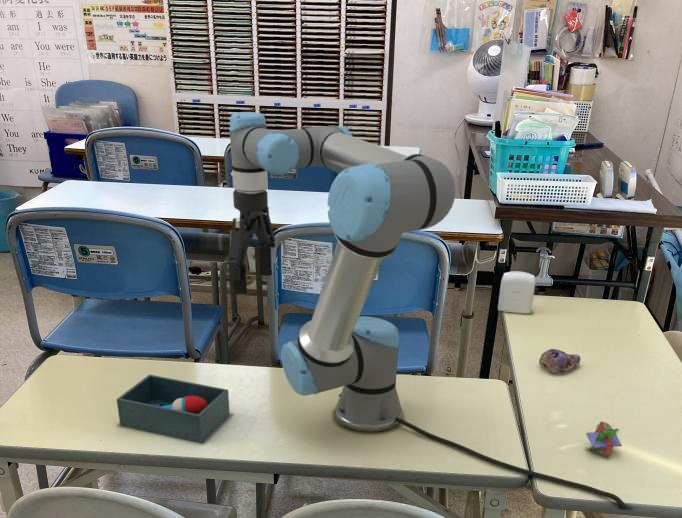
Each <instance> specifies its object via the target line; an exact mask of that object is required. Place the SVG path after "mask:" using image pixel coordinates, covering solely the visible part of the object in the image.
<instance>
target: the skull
mask: <svg viewBox="0 0 682 518" xmlns="http://www.w3.org/2000/svg"><path fill="white" fill-rule="evenodd" d="M580 362H581V355H579V354H576V353H574V354H569V353H566V351H563V350H560V349H555V348H550V349H548V350H546V351H544V352H542V353H541V355H540V358H539V360H538V364H539V365H540V366H542V367H544V368H545V369H547V370H548V371H550V372H551V373H552V374H555V375H557V374H558V375H559V374H563V373H565V372H567V371H569V372H571V371H572V370H574V369H576V368H577V366H578V367H579V366H580V365H581V363H580Z"/></svg>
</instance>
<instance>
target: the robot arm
mask: <svg viewBox="0 0 682 518" xmlns="http://www.w3.org/2000/svg"><path fill="white" fill-rule="evenodd" d="M267 126H268V125H267V122H266V118H265V115H264V114H263V113H260V112H256V111H255V112H254V111H241V112H235V113H233V114H231V115H230V118H229V140H230V157H231V170H232V171H231V173H230V175H231V177H232V188H233V189H234V190H233V192H232V196H233V197H232V200H233V208H234V209H235V210H238V211H239V218H236V217H234V218H232V231H231V237H230V243H229V249H228V251H229V252H228V256H227V265H230V266H233V267H232V268H233V283H234V285H233V286H234V287H233V288H234V293H236V294H243V295H246V294H248V288H247V287H248V286H247V265H246V264H245V260H246V257H247V253H248V249H249V246H250V242H251V239H253V238H254V235H255V236H256V238H257V240H258V242H259V245H260V246H259V247H258V256H259V275H261V276H267V277H271V276H272V249H273V248H276V243H275V242H276V236H275V233H274V229H273V224H272V221H271V217H270V210H269V200H268V197H269V196H268V191H267V189H268V173H271V174H277V175H287V174H288V173H290V172H291V171H292V170H294V169H302V168H303V169H304V168H311V167H324V168H326V169H328V170H331V171H334V172H336V173H338V175H336V177H335V178H334V179H333V182H332V184H331V186H330V189H329V191H328V197H327V206H328V207H329V209H328V211H327V218H328V221H329V225H330V227H331V229H332V231H333V234H334V237H335V238H336V240H337V243H336V246H335V248H334V252H333V254H332V257H331V261H330V264H329V266H328V270H327V272H326V276H325V279H324V282H323V285H322V288H321V291H320V293H319V296H318V299H317V303H316V306H315V308H314V311H313V314H312V317H311V320H309V321H307V322H306V323H304V324H303V325H302V327H301V328H300V330H299V333H298V335H297V338H296V340H294V341H290V340H289V341H288V342H285V343H284V344H283V346H282V347H281V352H280V359H281V366H282V370H283V372H284V375H285V378H286V381H287V382H288V383H289V385H290V387H291V388H292V390H293V391H294V392H295V393H296V394H298V395H299V396H302V397H305V396H311V395H318V394H321V393H324V392H327V391H331V390H334V389H339V388H342V387H343V388H342V390H341V392H340V393H339V394H338V400H337V403H336V405H335V418H336V420H337V422H338V423H339V424H341V425H342V426H344V427H345V428H347V429H349V430H352V431H357V432H363V433H379V432H384V431H388V430H391V429H393V428H395V427H397V426H398V425H399V424H400V425H403V426H405V427H407V428H408V429H411V430H413V431H415V432H416V433H418V434H421V435H422V436H425V437H427V438H429V439H431V440H434V441H436V442H438V443H441V444H443V445H447V446H449V447H452V448H455V449H457V450H460V451H462V452H464V453H467V454H469V455H471V456H473V457H475V458H477V459H480V460H482V461H485V462H488V463H489V464H493V465H496V466H499V467H501V468H504V469H507V470H511V471H512V472H516V473H519V474H523V475H526V476H530V477H532V478H533V477H534V478H537V479H541V480H545V481H548V482H551V483H556V484H560V485H564V486H568V487H571V488H575V489H579V490H583V491H586V492H588V493H593V494H595V495H598V496H602V497H604V498H608V499H611V500H613V501H614V502H616V504H618V506H619V507H620V509H622V510H625V511H626V510H628V508H627V505H626V504H625V502H624V501H623V500H622V499H621V498H620V497H619V496H617V495H616V494H614V493H611V492H608V491H604V490H601V489H598V488H596V487H592V486H589V485H586V484H582V483H579V482H575V481H571V480H567V479H562V478H559V477H555V476H552V475H548V474H543V473H540V472H536V471H532V470H529V469H526V468H523V467H519V466H516V465H513V464H509V463H507V462H503V461H500V460H497V459H495V458H492V457H489V456H487V455H485V454H482V453H480V452H478V451H475V450H473V449H471V448H468V447H466V446H464V445H462V444H459V443H457V442H454V441H452V440H450V439H449V440H448V439H446V438H443V437H440V436H437V435H435V434H432V433H430V432H428V431H426V430H424V429H422V428H420V427H419V426H416V425H415V424H413V423H411V422H408V421H407V420H404V419H403V418H402V414H403V408H402V405H401V402H400V398H399V394H398V390H397V374H398V373H397V372H398V357H399V348H400V333H399V330H398V328H397V326H396V325H394V324H393V323H391V322H389V321H388V320H385V319H383V318H382V319H381V318H379V317H374V316H365V315H364V316H361V313H362V311H363V308H364V305H365V303H366V301H367V298H368V296H369V293H370V291H371V288H372V285H373V283H374V281H375V278H376V277H377V273H378V271H379V269H380V265H381V264H382V261H383V259H385V258H388V257H390V256H391V255H393V253H394V252H395V251H396V249H397V246H398V244H399V242H400V240H401V237H402V235H403V234H405V233H410V232H411V233H412V232H416V231H422V230H426V229H429V228H432V227H435V226H436V225H437V224H439V223H440V222H442V221H443V220H444V219H445V218H446V217H447V216H448V214H449V213H450V211H451V210H452V208H453V206H454V203H455V198H456V183H455V182H456V181H455V179H454V176H453V174H452V172H451V170H450V169H449V168H448V167H447V165H445V164H444V163H443V162H442V161H440V160H437V159H436V158H433V157H430V156H426V155H424V154H420V153H412V154H410V155H405V154H403V153H400V152H397V151H394V150H392V149H389V148H385V147H384V146H380V145H377V144H375V143H372V142H369V141H367V140H363V139H360V138H358V137H354V136H353V133H352V132H350V129H349V128H348V127H346V126H344V125H332V124H331V125H330V124H329V125H327V126H319V127H318V126H317V127H308V128H291V129H278V130H273V129H267V128H268V127H267Z"/></svg>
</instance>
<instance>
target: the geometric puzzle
mask: <svg viewBox="0 0 682 518" xmlns="http://www.w3.org/2000/svg"><path fill="white" fill-rule="evenodd" d="M592 429H594V427H593V428H591V430H592ZM619 430H620V428H617V427H616V428H613V426H612V425H610V424H609V423H608V422H605V421H603V420H602V421H600V422H599V423H597V424H596V426H595V431H594V432H592V431H591V432H590V430H589V431H587V432H585V435H586V437H587V438H586V439H587V441H589V442H590V445H589V443H587V444H588V446H589V449H588V450H589V451H592V452H594V453H597V452H598V450H602V452H603V454H602V453H601V452H599V455H602V457H605V458H606V459H607V458H608V457H609V455H611V454H613V452H612V453H611V451H612V450H613V448H617V447H618V448H621V447H622V446H623V444H622V442H621V440H620V439H619V437H618V433H619V435H620V432H619ZM616 450H617V449H615V450H614V452H615V451H616ZM595 451H596V452H595Z"/></svg>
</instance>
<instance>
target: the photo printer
mask: <svg viewBox="0 0 682 518" xmlns="http://www.w3.org/2000/svg"><path fill="white" fill-rule="evenodd" d="M501 277H502V278H501V281H500V288H499V295H498V304H497V310H498V311H499V312H505V313H515V314H516V313H517V314H526V315H527V314H531V313H532V309H533V302H534V296H535V288H536V277H535V275H534V274H531V273H529V272H525V271H519V270H518V271H516V270H515V271H507V272H504V273H503V275H502V276H501Z"/></svg>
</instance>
